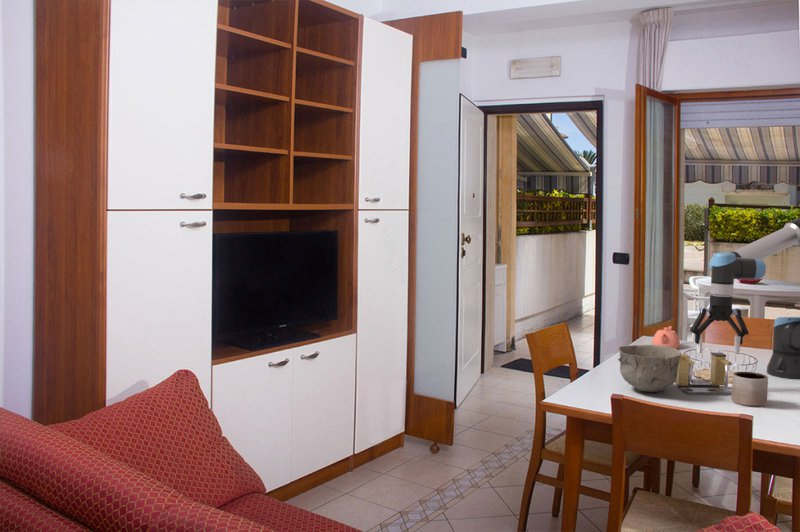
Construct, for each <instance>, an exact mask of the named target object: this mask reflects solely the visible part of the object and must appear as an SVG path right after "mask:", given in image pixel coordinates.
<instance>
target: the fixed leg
mask: <svg viewBox="0 0 800 532" xmlns="http://www.w3.org/2000/svg"><path fill="white" fill-rule="evenodd" d="M681 354H682V355H681V357H680V360H679V365H678V370H677V379H676V380H675V382H674V384H675V385H676V384H678V385H679V386H688V387H691V383H692V379H691V373H692V374H693V372H692V365H693V366H694V365H695V361H693V360H692V359H690V358H691V357H690V355H688V354H687V353H681Z"/></svg>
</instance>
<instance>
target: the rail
mask: <svg viewBox="0 0 800 532" xmlns="http://www.w3.org/2000/svg"><path fill="white" fill-rule="evenodd" d="M675 386H676V388H678V389H682V388H721V385H714V384H712V383H697V382H696V383H695V382H694V383H693V382H691V387H688V386H679V385H678V384H676V383H675Z"/></svg>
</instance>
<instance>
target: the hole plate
mask: <svg viewBox="0 0 800 532" xmlns="http://www.w3.org/2000/svg"><path fill="white" fill-rule="evenodd" d="M681 391H682V392H683V393H685V394H686V395H689V396H693V395H692V394H695V395H694V396H732V389H729V388H728V387H720V388H681ZM690 394H691V395H690ZM700 394H701V395H700Z"/></svg>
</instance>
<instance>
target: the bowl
mask: <svg viewBox="0 0 800 532" xmlns="http://www.w3.org/2000/svg"><path fill="white" fill-rule="evenodd" d="M617 349H618V352H619V358H618V359H617V360H618V362H620V363H619V364H620V365H619V372H620V374H621V376H622V379H623V380H624V381H625V382H626V383H627V384H628V385H630V386H631V387H633V388H635V389H637V390H638V391H642V392H645V393H647V392H648V393H657V392H663V391H665V390H667V389H669V388H670V387H671V386H672V385H673V384H675V380H676V379H677V370H678V365H679V360H680V357H681V355H682V354H683V353H682V352H681V351H680V349H678V348H677V349H675V348H672V347H668V346H657V345H652V344H638V345H635V344H634V345H621V346H619V347H618V348H617Z"/></svg>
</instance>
